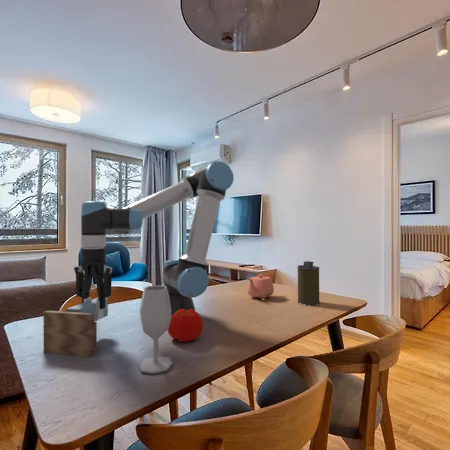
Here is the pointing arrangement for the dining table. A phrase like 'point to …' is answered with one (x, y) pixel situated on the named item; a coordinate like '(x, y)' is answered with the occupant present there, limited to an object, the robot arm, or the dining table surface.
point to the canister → (308, 284)
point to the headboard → (70, 333)
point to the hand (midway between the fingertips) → (93, 317)
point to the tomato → (185, 325)
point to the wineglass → (155, 325)
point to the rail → (89, 308)
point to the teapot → (260, 286)
